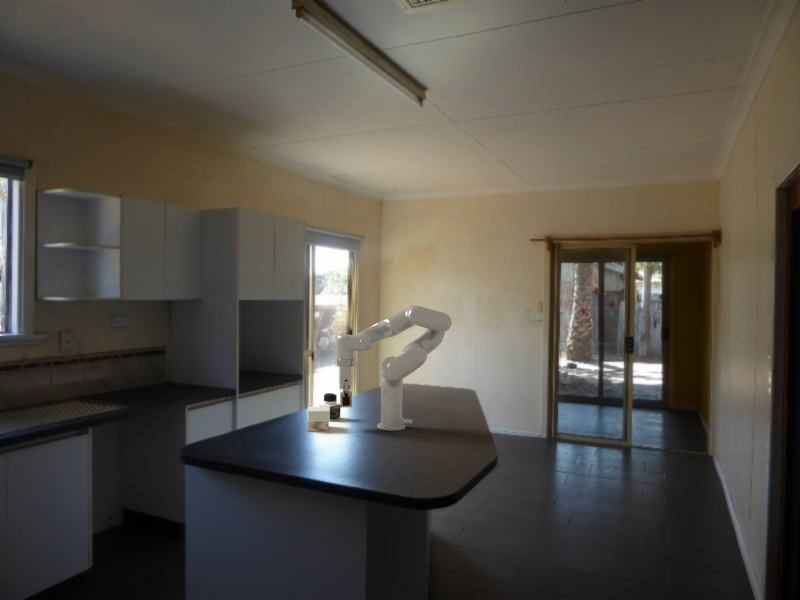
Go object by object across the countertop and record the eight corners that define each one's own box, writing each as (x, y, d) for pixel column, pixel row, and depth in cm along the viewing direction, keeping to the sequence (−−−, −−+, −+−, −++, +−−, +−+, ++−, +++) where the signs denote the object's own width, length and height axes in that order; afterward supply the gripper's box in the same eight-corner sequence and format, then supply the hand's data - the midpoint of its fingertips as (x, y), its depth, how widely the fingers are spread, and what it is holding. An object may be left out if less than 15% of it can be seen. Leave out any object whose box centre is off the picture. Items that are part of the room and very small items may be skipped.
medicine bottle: (329, 421, 259) (330, 395, 259) (318, 419, 263) (319, 393, 263) (340, 419, 265) (341, 393, 265) (329, 416, 269) (330, 391, 269)
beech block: (328, 427, 250) (328, 417, 250) (328, 432, 241) (328, 421, 241) (307, 427, 249) (308, 417, 248) (307, 432, 240) (307, 421, 240)
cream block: (328, 416, 250) (328, 406, 250) (329, 421, 241) (329, 411, 241) (307, 417, 248) (307, 406, 248) (308, 421, 239) (308, 411, 239)
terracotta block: (351, 404, 249) (351, 391, 249) (352, 407, 244) (351, 393, 244) (340, 405, 248) (340, 391, 248) (340, 407, 243) (340, 393, 243)
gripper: (336, 360, 254) (337, 400, 254) (337, 365, 237) (337, 408, 237) (353, 360, 255) (353, 400, 255) (355, 365, 238) (355, 407, 238)
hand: (346, 403), depth 246 cm, fingers closed on terracotta block, 4 cm apart
